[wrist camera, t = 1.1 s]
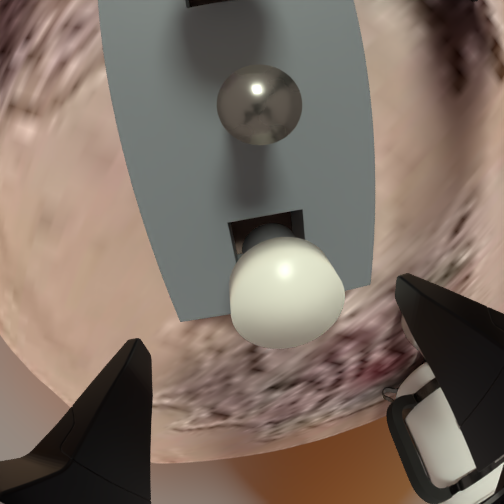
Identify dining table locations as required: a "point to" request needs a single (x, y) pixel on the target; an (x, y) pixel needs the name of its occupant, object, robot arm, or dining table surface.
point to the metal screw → (259, 104)
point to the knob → (283, 289)
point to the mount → (233, 150)
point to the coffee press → (435, 444)
